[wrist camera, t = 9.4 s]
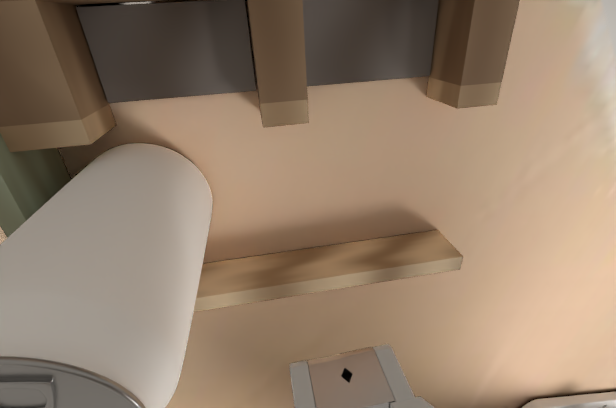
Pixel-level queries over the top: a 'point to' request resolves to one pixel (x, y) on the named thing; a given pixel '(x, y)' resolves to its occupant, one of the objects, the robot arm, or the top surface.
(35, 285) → the can
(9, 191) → the trap box
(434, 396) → the top surface
